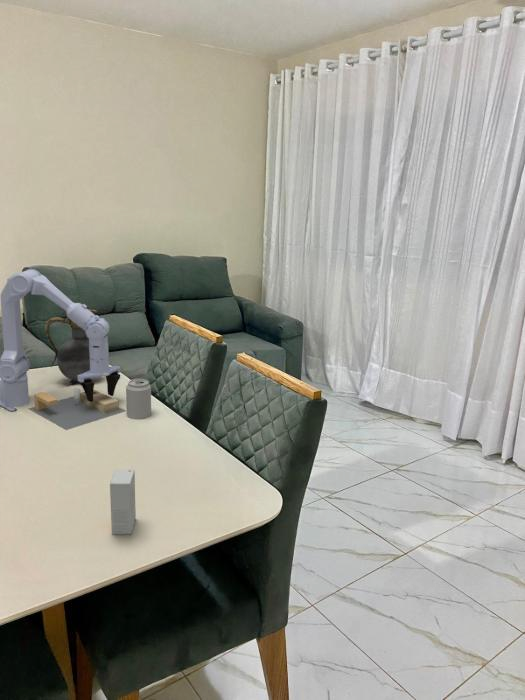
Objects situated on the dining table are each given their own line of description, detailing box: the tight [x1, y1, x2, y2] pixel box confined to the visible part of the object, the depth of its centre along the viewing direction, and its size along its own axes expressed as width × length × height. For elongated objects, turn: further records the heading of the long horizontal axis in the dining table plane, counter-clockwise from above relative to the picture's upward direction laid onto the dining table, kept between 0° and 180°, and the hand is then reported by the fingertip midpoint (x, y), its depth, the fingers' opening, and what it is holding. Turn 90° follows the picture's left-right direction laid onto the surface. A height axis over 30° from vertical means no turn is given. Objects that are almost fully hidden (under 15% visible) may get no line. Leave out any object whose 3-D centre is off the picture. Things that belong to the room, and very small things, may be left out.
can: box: [125, 378, 152, 420], centre depth 168 cm, size 8×8×12 cm
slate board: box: [28, 388, 127, 431], centre depth 170 cm, size 22×21×6 cm
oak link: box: [80, 388, 120, 414], centre depth 174 cm, size 14×5×3 cm, turn 50°
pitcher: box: [44, 306, 98, 386], centre depth 192 cm, size 11×19×30 cm, turn 107°
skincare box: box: [109, 468, 137, 535], centre depth 113 cm, size 6×4×12 cm
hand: (100, 398), depth 173 cm, fingers open, 7 cm apart
